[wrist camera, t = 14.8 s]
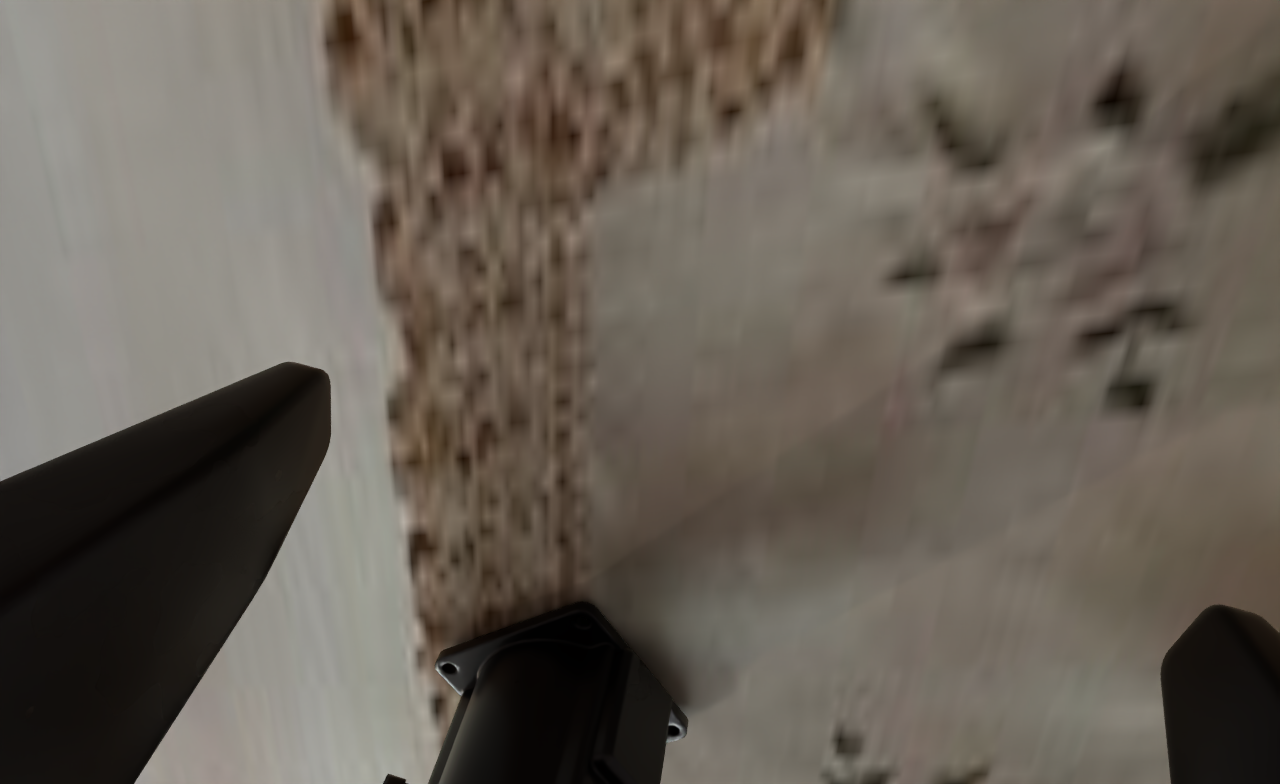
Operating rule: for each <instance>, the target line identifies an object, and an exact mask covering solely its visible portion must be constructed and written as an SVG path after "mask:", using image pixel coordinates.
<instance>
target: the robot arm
mask: <svg viewBox="0 0 1280 784" xmlns="http://www.w3.org/2000/svg"><path fill="white" fill-rule="evenodd" d="M330 437H331V385H330V379H329V376H328V374H327V373H326V372H325V371H324V370H322V369H318V368H314V367H310V366H307V365H303V364H299V363H295V362H284V363H281V364H278V365H276V366H274V367H271V368H269V369H267V370H264V371H262V372H259V373H257V374H255V375H252V376H250V377H248V378H245V379H243V380H240V381H238V382H236V383H233V384H231V385H229V386H226V387H224V388H221V389H219V390H217V391H214V392H212V393H210V394H207V395H205V396H202V397H200V398H198V399H195V400H193V401H191V402H188V403H186V404H183V405H181V406H179V407H176V408H174V409H172V410H169V411H167V412H164V413H162V414H160V415H157V416H155V417H152V418H150V419H148V420H145V421H143V422H141V423H138V424H136V425H133V426H131V427H129V428H126V429H124V430H122V431H119V432H117V433H114V434H112V435H110V436H107V437H105V438H103V439H100V440H98V441H95V442H93V443H91V444H88V445H86V446H84V447H81V448H79V449H76V450H74V451H72V452H69V453H67V454H65V455H62V456H60V457H57V458H55V459H53V460H50V461H48V462H46V463H43V464H41V465H38V466H36V467H34V468H31V469H29V470H27V471H24V472H22V473H19V474H17V475H15V476H12V477H10V478H8V479H5V480H3V481H0V784H134V783H135V781H136V780H137V778H138V777H139V775H140V773H141V772H142V770H143V769H144V767H145V766H146V764H147V763H148V761H149V759H150V758H151V756H152V755H153V753H154V752H155V750H156V749H157V747H158V745H159V744H160V742H161V741H162V739H163V738H164V736H165V735H166V733H167V731H168V730H169V728H170V727H171V725H172V724H173V722H174V721H175V719H176V717H177V716H178V714H179V713H180V711H181V710H182V708H183V707H184V705H185V703H186V702H187V700H188V699H189V697H190V696H191V694H192V693H193V691H194V689H195V688H196V686H197V685H198V683H199V682H200V680H201V679H202V677H203V676H204V674H205V672H206V671H207V669H208V668H209V666H210V665H211V663H212V662H213V660H214V658H215V657H216V655H217V654H218V652H219V651H220V649H221V648H222V646H223V644H224V643H225V641H226V640H227V638H228V637H229V635H230V634H231V632H232V630H233V629H234V627H235V626H236V624H237V623H238V621H239V620H240V618H241V616H242V615H243V613H244V612H245V610H246V609H247V607H248V606H249V604H250V602H251V601H252V599H253V598H254V596H255V594H256V593H257V591H258V589H259V588H260V586H261V584H262V583H263V581H264V579H265V578H266V576H267V574H268V572H269V570H270V568H271V566H272V564H273V562H274V560H275V558H276V556H277V554H278V552H279V550H280V548H281V546H282V544H283V542H284V540H285V538H286V536H287V534H288V532H289V530H290V528H291V525H292V523H293V521H294V519H295V517H296V515H297V513H298V511H299V509H300V507H301V505H302V503H303V501H304V499H305V497H306V495H307V493H308V491H309V488H310V486H311V484H312V482H313V480H314V478H315V476H316V474H317V472H318V470H319V468H320V466H321V464H322V462H323V460H324V458H325V455H326V453H327V450H328V447H329V443H330ZM581 617H585V618H587V619H583V618H581ZM435 668H436V670H437V671H438V673H439V674H440V675H441V676H442V677H443V678H444V679H445V680H446V681H447V682H448V683H449V684H450V685H451V686H452V687H453V688H454V689H455V691H456V692H457V693H458V694H459V695H460V696H461V699H460V702H459V704H458V707H457V710H456V712H455V715H454V717H453V720H452V723H451V725H450V728H449V730H448V733H447V736H446V738H445V741H444V743H443V746H442V749H441V751H440V754H439V757H438V759H437V762H436V764H435V767H434V770H433V772H432V775H431V777H430V780H429V783H428V784H660V781H661V774H662V768H663V761H664V754H665V747H666V743H668V742H672V741H675V740H679V739H681V738H684V737H685V736H686V734H687V727H688V719H687V717H686V716H685V715H684V713H683V712H682V711H681V710H680V708H679V707H678V706H677V705H676V704H675V702H674V701H673V700H672V698H671V696H670V695H669V694H668V693H667V692H666V690H665V689H664V688H663V687H662V685H661V684H660V683H659V682H658V681H657V679H656V678H655V677H654V676H653V674H652V673H651V672H650V671H649V670H648V668H647V667H646V666H645V665H644V663H643V662H642V661H641V660H640V659H639V657H638V656H637V655H636V654H635V653H634V652H633V651H632V650H631V649H630V647H629V646H628V645H627V644H626V643H625V641H624V640H623V639H622V638H621V636H620V635H619V634H618V633H617V632H616V630H615V629H614V628H613V627H612V625H611V624H610V623H609V622H608V621H607V619H606V618H605V617H604V616H603V614H602V613H601V612H600V611H599V610H598V608H596V607H595V606H594V605H592V604H590V603H588V602H577V603H574V604H571V605H568V606H565V607H562V608H560V609H557V610H554V611H551V612H548V613H546V614H543V615H540V616H537V617H534V618H532V619H529V620H526V621H523V622H521V623H518V624H515V625H512V626H509V627H507V628H504V629H501V630H498V631H495V632H493V633H490V634H487V635H484V636H481V637H479V638H476V639H473V640H470V641H468V642H465V643H462V644H459V645H456V646H454V647H451V648H448V649H445V650H443V651H442V652H440V654H439V657H438V659H437V661H436V664H435ZM1161 687H1162V697H1163V707H1164V717H1165V727H1166V738H1167V748H1168V758H1169V768H1170V778H1171V784H1280V633H1279V632H1278V631H1277V630H1275V629H1274V628H1273V627H1272V626H1271V625H1270V624H1269V623H1268V622H1267V621H1266V620H1265V619H1263V618H1262V617H1261V616H1259V615H1257V614H1255V613H1252V612H1248V611H1244V610H1241V609H1237V608H1233V607H1229V606H1225V605H1212V606H1210V607H1208V608H1206V609H1205V610H1203V611H1202V612H1201V614H1200V615H1199V616H1198V617H1197V618H1196V619H1195V620H1194V622H1193V623H1192V624H1191V625H1190V626H1189V627H1188V628H1187V630H1186V631H1185V632H1184V633H1183V634H1182V635H1181V636H1180V638H1179V639H1178V640H1177V641H1176V642H1175V643H1174V644H1173V646H1172V647H1171V648H1170V649H1169V650H1168V652H1167V653H1166V655H1165V657H1164V659H1163V663H1162V666H1161ZM405 782H406V779H403V778H400V777H397V776H394V775H391V774H388V775H387V777H386V779H385V781H384V783H383V784H408V783H405Z"/></svg>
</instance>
